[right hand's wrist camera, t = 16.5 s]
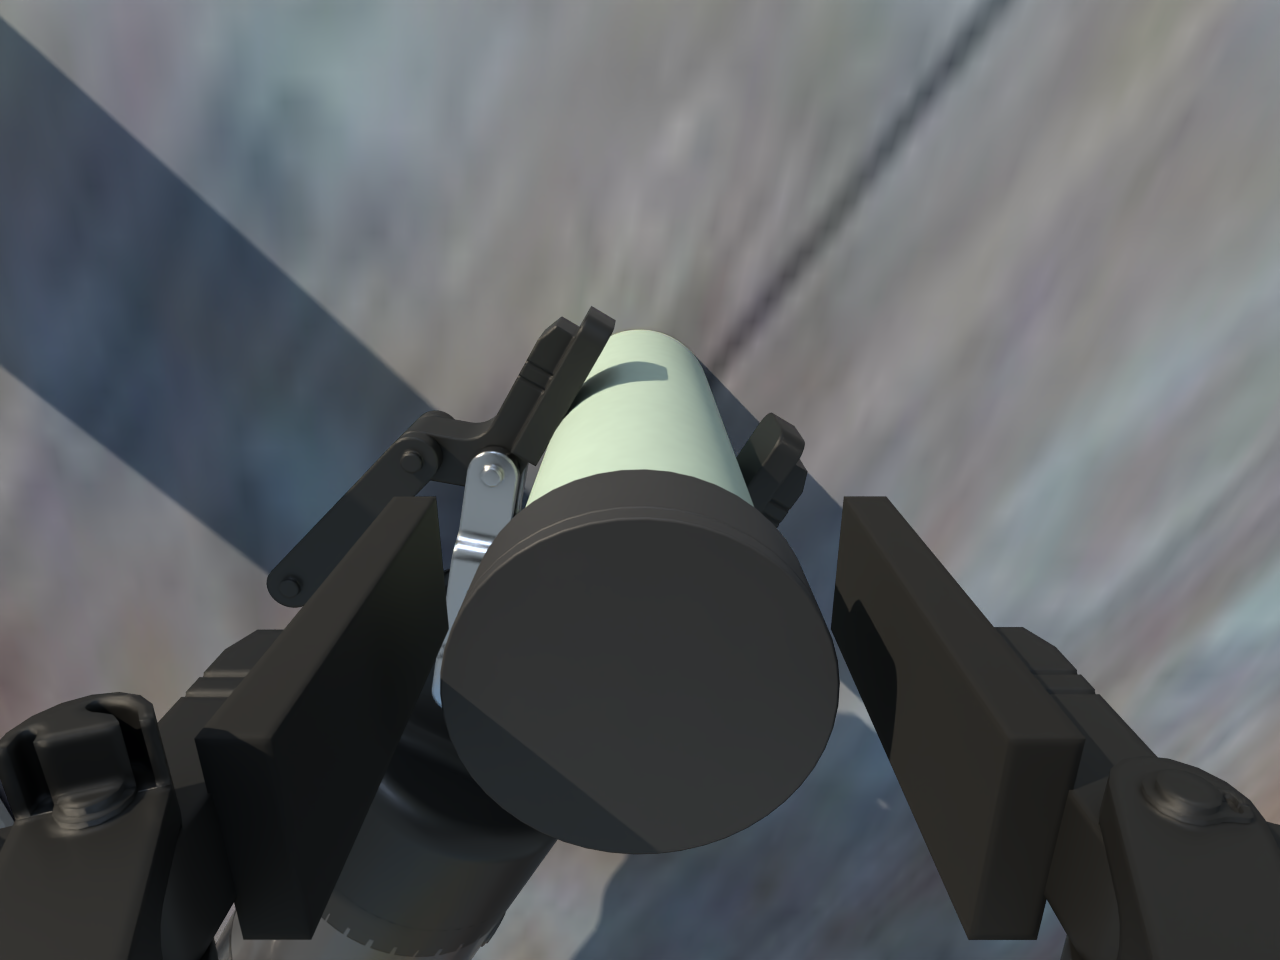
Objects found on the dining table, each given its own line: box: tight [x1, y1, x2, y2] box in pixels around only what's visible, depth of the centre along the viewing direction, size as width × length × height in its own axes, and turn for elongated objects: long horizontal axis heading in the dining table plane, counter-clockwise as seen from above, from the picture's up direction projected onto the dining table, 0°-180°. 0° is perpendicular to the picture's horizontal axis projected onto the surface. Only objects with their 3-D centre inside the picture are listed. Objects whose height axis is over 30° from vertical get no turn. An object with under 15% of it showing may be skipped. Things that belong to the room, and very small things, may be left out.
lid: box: [440, 469, 840, 854], centre depth 11 cm, size 5×5×2 cm
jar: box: [526, 330, 754, 507], centre depth 18 cm, size 5×5×16 cm
